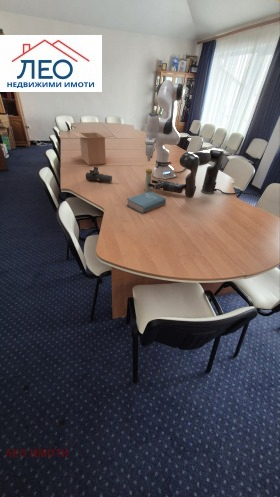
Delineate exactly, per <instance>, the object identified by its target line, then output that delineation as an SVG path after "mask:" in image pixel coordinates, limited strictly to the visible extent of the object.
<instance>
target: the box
mask: <svg viewBox="0 0 280 497" xmlns="http://www.w3.org/2000/svg"><path fill="white" fill-rule="evenodd" d="M70 133H71V134H72V135H74V136H75V137H77V138H79V144H80V153H81V160H83V162H85V163H86V165H87V166H95V165H97V166H98V165H106V163H107V162H106V158H107V157H106V138H113V137H114V136H113V135H111V134H109V133H108V132H105V131H98V132H96V131H95V130H92V129H91V130H77V132H76V131H70Z"/></svg>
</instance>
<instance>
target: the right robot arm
mask: <svg viewBox="0 0 280 497" xmlns="http://www.w3.org/2000/svg"><path fill="white" fill-rule="evenodd" d="M224 154H225V152H224V150H221V149H217V148H211V149H208V150H200V151H194V152H190V151H186V152H184V153H183V154H182V155H181V156H180V158H179V160H178V161H179V162H178V163H179V165H180V166H181V167H182V168H184V169H185V168H186V169H185V170H188V171H190V172H189V173H188V174H187V175H186V177H185V180H184V182H185V183H177V182H174V181H168V180H161V179H157V180H155V179H151V184H150V183H149V184H148V186H149V187H150V188H152V189H153V190H157V191H161V189H162V191H163V192H168V193H175V194H182V193H183V192H184V196H185V197H186V198H187V199H192V198H194V196H195V193H196V191H197V185H196V178H197V173H198V170H199V166H198V165H201V166H206V165H207V164H209V163H210V162H211V163H214V165H208V166H207V167H206V171H205V175H204V179H203V182H202V186H201V192H202V193H203V194H207V195H212V194H214V193H215V192H217V191H219V192H220V193H222V194H225V195H236V194H242V195H253V196H255V197H258V195H257V193H254V192H243V191H236V192H224V191H222V190H221V189H220V188H217V187H216V186H217V178H218V174H219V171H220V168H221V164H222V162H223V158H224Z"/></svg>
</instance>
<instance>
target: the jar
mask: <svg viewBox="0 0 280 497" xmlns="http://www.w3.org/2000/svg"><path fill="white" fill-rule="evenodd" d="M152 174H153V172H152V173H151V174H148V173H146V172H145V183H144V184H145V186H144V191H145V192H149V191H150V192H151V187H149V186H148V184H149V183H150V184H152V176H153V175H152Z"/></svg>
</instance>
